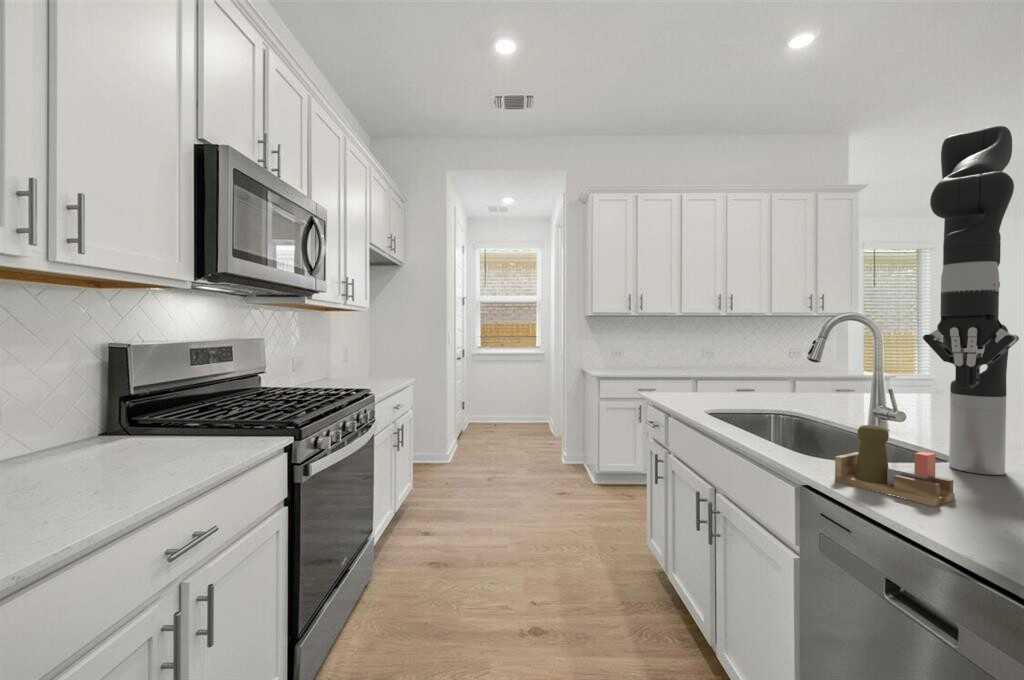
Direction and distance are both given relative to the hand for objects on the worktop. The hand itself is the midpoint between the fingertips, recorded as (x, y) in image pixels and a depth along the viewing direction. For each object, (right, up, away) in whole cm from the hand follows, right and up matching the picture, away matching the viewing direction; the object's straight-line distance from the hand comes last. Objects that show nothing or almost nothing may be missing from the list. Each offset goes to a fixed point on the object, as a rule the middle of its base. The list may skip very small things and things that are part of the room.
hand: (967, 387), depth 87 cm
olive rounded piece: (-7, -20, +14) cm, 26 cm away
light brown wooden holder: (-5, -22, +11) cm, 25 cm away
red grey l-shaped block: (-4, -20, +8) cm, 22 cm away
